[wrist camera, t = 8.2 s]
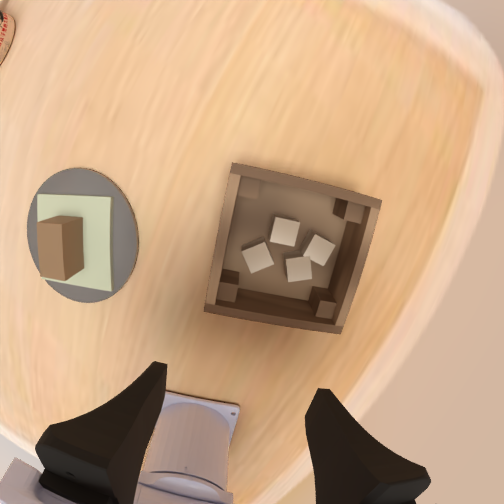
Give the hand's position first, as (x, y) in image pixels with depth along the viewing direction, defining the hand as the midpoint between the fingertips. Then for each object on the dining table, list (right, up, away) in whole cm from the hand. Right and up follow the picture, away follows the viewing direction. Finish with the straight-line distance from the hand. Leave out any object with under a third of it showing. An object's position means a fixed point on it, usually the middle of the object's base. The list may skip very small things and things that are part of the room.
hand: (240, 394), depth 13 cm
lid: (-13, +8, +8) cm, 17 cm away
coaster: (-13, +8, +8) cm, 18 cm away
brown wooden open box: (+3, +8, +9) cm, 12 cm away
